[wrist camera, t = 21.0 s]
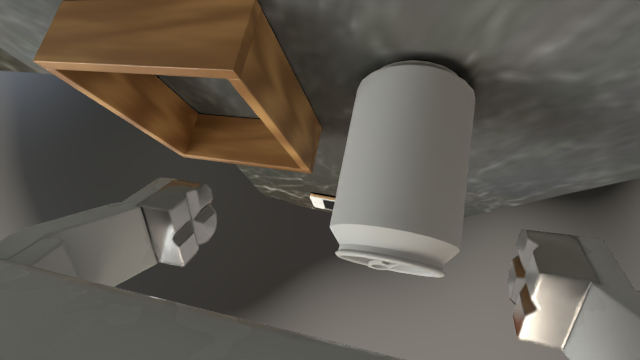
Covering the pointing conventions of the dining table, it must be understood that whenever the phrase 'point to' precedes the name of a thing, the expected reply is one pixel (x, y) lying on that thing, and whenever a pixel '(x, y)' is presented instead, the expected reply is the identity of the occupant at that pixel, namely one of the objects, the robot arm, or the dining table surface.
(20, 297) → the robot arm
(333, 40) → the dining table surface
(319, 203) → the cell phone
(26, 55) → the dining table surface
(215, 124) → the crate
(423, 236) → the can
